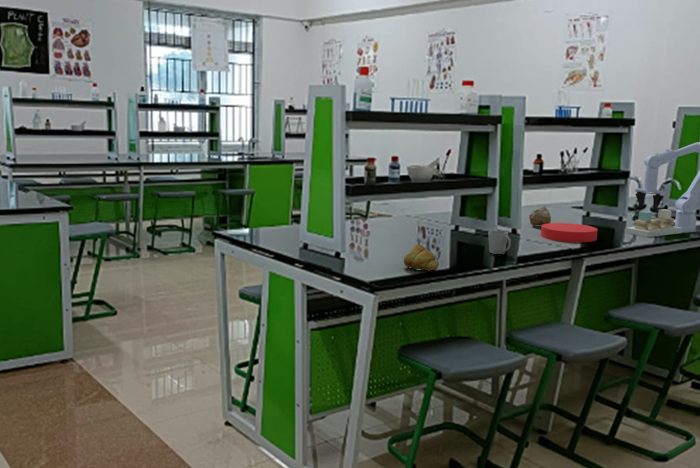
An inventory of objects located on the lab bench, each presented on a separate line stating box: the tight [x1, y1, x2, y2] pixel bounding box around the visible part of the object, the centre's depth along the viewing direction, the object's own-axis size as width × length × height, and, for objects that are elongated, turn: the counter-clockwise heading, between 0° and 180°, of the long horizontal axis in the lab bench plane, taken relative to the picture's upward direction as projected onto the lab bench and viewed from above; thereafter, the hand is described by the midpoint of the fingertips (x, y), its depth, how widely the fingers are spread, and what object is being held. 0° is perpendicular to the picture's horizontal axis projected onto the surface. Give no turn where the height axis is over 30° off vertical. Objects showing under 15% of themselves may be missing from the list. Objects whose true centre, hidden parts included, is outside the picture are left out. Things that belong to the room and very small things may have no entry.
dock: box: [624, 225, 683, 238], centre depth 314 cm, size 26×12×2 cm, turn 121°
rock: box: [528, 206, 552, 227], centre depth 326 cm, size 12×10×10 cm
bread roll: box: [403, 243, 439, 271], centre depth 231 cm, size 13×10×8 cm
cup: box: [488, 230, 512, 255], centre depth 259 cm, size 8×10×8 cm
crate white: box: [657, 208, 672, 219], centre depth 317 cm, size 4×4×4 cm
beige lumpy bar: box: [634, 217, 675, 230], centre depth 314 cm, size 22×5×4 cm, turn 121°
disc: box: [540, 222, 598, 243], centre depth 299 cm, size 24×5×24 cm
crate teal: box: [637, 210, 653, 221], centre depth 309 cm, size 4×4×4 cm
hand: (648, 208), depth 321 cm, fingers open, 7 cm apart
